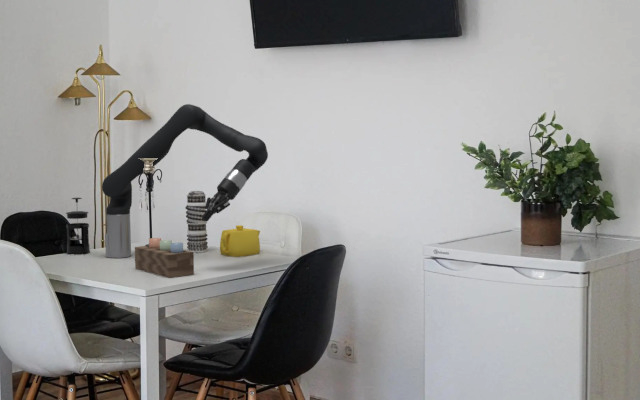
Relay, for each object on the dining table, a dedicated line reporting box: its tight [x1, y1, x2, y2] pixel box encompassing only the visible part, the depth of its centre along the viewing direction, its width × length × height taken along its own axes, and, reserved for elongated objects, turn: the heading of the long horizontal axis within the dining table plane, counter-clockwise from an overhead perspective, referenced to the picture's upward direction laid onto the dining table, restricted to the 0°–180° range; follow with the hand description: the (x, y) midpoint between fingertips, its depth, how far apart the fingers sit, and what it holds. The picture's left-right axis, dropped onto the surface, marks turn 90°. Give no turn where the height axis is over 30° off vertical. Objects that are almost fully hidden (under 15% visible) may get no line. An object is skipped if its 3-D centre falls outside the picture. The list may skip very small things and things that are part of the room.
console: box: [134, 245, 195, 279], centre depth 308 cm, size 25×10×8 cm, turn 39°
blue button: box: [171, 241, 184, 253], centre depth 302 cm, size 4×4×6 cm
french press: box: [65, 197, 91, 255], centre depth 352 cm, size 12×9×23 cm
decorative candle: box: [185, 190, 209, 253], centre depth 355 cm, size 9×9×25 cm
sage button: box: [160, 239, 173, 251], centre depth 308 cm, size 4×4×6 cm
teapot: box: [219, 224, 261, 258], centre depth 348 cm, size 20×12×12 cm, turn 137°
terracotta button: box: [148, 237, 162, 248], centre depth 314 cm, size 4×4×6 cm
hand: (204, 219), depth 308 cm, fingers closed
